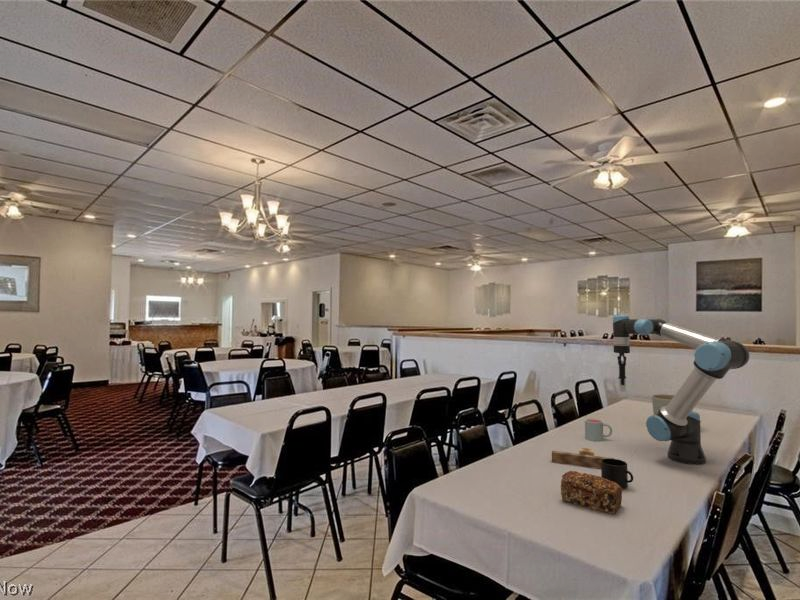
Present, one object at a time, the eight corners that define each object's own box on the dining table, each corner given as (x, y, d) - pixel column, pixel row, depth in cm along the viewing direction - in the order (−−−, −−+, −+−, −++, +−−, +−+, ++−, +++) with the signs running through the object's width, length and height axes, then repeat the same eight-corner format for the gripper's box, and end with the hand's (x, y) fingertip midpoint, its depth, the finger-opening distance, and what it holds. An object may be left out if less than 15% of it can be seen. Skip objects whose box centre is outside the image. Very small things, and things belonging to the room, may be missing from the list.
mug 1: (585, 440, 236) (585, 422, 237) (584, 436, 245) (584, 418, 245) (613, 443, 231) (612, 424, 231) (611, 438, 240) (611, 420, 240)
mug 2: (627, 493, 165) (627, 469, 165) (597, 484, 174) (596, 461, 174) (638, 487, 171) (638, 464, 171) (608, 478, 180) (608, 456, 180)
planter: (692, 427, 264) (692, 396, 265) (694, 435, 247) (693, 401, 248) (653, 423, 276) (652, 393, 276) (652, 430, 258) (651, 398, 259)
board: (614, 468, 192) (613, 457, 192) (614, 470, 189) (614, 459, 190) (552, 460, 203) (552, 450, 204) (551, 462, 201) (551, 452, 201)
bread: (560, 501, 158) (559, 473, 158) (570, 492, 166) (569, 466, 166) (615, 516, 146) (614, 486, 146) (623, 506, 154) (622, 477, 154)
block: (594, 462, 201) (593, 449, 201) (593, 466, 196) (593, 452, 196) (580, 460, 204) (579, 447, 204) (579, 464, 198) (579, 450, 199)
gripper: (613, 344, 231) (614, 388, 230) (613, 345, 219) (614, 392, 218) (629, 344, 227) (630, 389, 226) (630, 346, 216) (631, 393, 215)
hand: (622, 391), depth 222 cm, fingers closed
